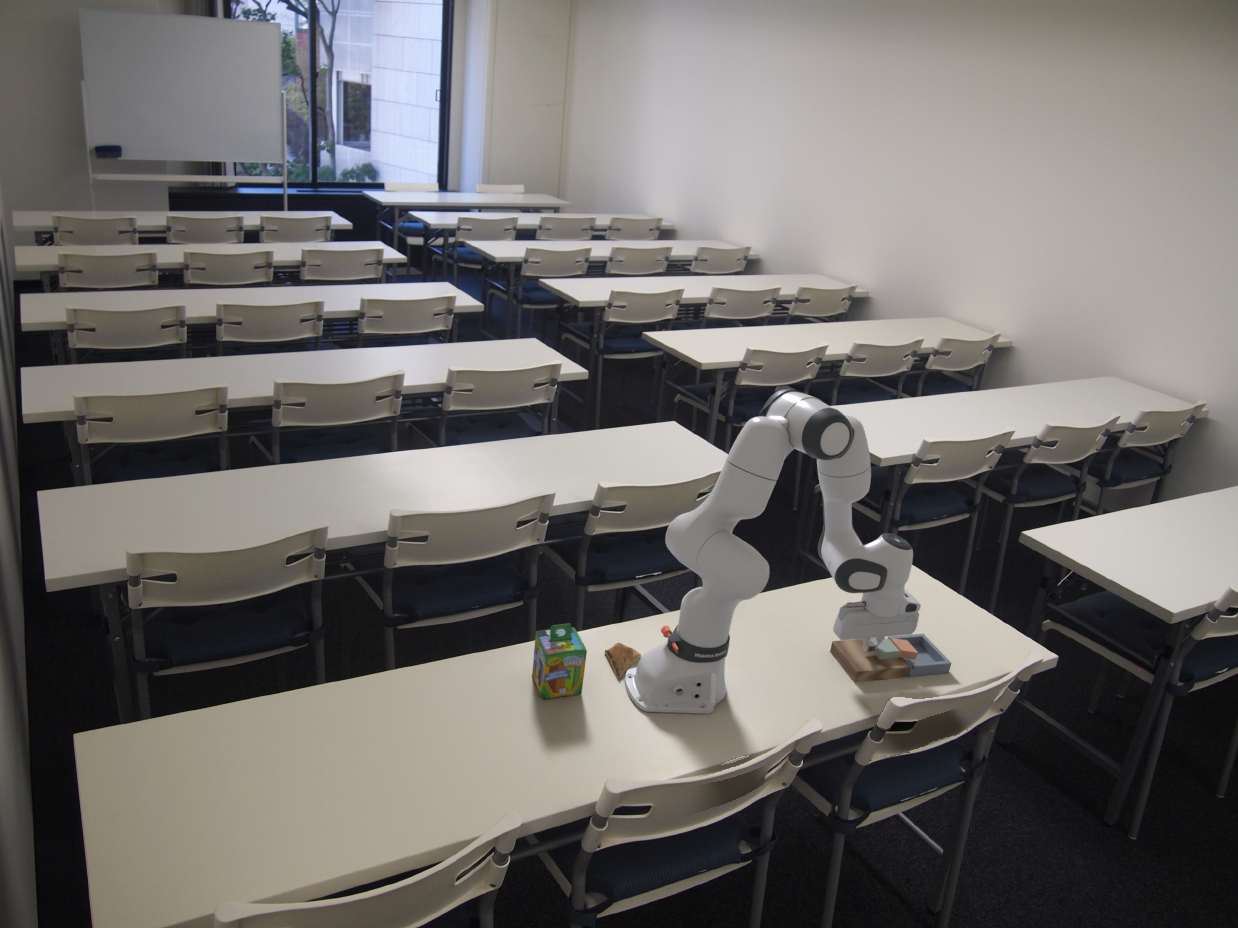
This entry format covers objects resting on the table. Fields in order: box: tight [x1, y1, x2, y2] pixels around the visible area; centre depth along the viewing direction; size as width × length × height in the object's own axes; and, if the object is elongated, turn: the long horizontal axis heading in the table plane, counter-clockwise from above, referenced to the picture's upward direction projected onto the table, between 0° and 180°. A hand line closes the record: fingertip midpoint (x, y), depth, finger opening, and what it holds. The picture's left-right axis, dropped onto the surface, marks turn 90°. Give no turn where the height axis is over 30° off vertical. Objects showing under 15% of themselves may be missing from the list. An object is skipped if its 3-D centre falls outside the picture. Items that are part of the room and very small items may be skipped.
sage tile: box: [870, 638, 900, 660], centre depth 217 cm, size 5×5×2 cm
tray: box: [887, 633, 952, 678], centre depth 221 cm, size 11×12×3 cm
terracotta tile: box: [890, 638, 918, 660], centre depth 218 cm, size 5×5×2 cm
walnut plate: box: [829, 637, 910, 683], centre depth 217 cm, size 14×12×3 cm
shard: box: [604, 642, 642, 680], centre depth 208 cm, size 11×8×2 cm
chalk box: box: [531, 622, 588, 700], centre depth 196 cm, size 9×9×15 cm
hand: (869, 649), depth 216 cm, fingers closed
